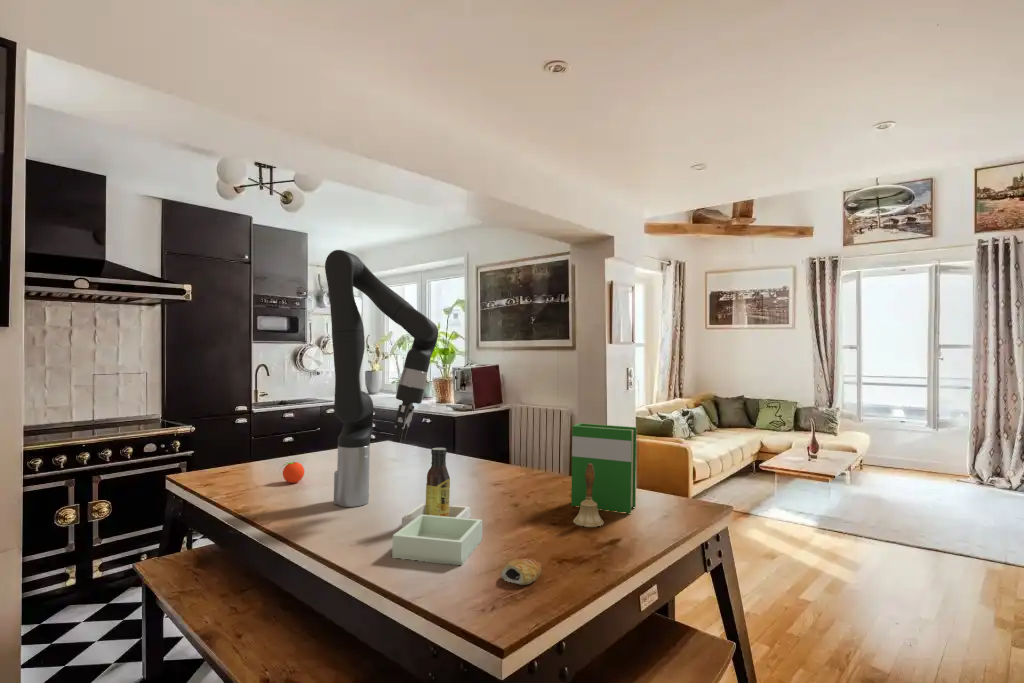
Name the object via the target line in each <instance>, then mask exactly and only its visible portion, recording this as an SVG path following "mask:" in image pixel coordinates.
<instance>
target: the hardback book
mask: <svg viewBox="0 0 1024 683" xmlns="http://www.w3.org/2000/svg"><path fill="white" fill-rule="evenodd" d="M571 430H572V433H571V434H572V438H571V441H572V442H571V443H572V444H571V446H572V447H571V495H570V496H571V500H570V502H571V503H570V504H571V507H572V506H579V507H580V505H581V502H582V501H584V500H586V491H587V485H586V481H585V472H586V469H587V466H588V464H589V463H591V464H593V468H594V472H595V478H594V483H593V487H592V500H593V501H594V502H596V503H597V508H598V509H602V510H609V511H617V512H626V513H631V514H632V509H633V508H632V507H635V508H636V498H637V497H636V495H637V494H636V488H637V486H636V484H637V427H636V426H623V425H611V424H609V425H608V424H598V423H597V424H595V423H582V422H581V423H580V422H578V423H577V424H575V425H572V429H571ZM579 507H578V508H579Z"/></svg>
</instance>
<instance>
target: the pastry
mask: <svg viewBox="0 0 1024 683" xmlns="http://www.w3.org/2000/svg"><path fill="white" fill-rule="evenodd" d="M542 569H543V565H542V563H541V562H540V561H538V560H535V559H534V558H531V557H530V558H514V559H512V560H511V561H508V562H507V563H506V564H505V565H504V567H503V569H502V571H501V572H500V578H502V580H503V579H504V580H503V581H504V582H506V581H507V583H510V582H511V584H516V585H518V584H519V586H523V585H524V586H525V585H530V584H532V583H533V582H536V580H537V579H538V578H539V577H540V575H541V574H542Z"/></svg>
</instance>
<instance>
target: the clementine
mask: <svg viewBox="0 0 1024 683" xmlns="http://www.w3.org/2000/svg"><path fill="white" fill-rule="evenodd" d="M284 466H285V467H284ZM282 467H283V470H282V476H283V479H284V480H285V482H287V483H291V484H295V483H298V482H300V481H301V480H302V479H303V478H304V475H305V468H304V466H303V465H302V463H300V462H295V461H293V462H287V463H285V464H283V465H282ZM282 467H280V468H279V470H281V469H282Z"/></svg>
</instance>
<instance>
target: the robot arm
mask: <svg viewBox="0 0 1024 683" xmlns="http://www.w3.org/2000/svg"><path fill="white" fill-rule="evenodd" d="M324 270H325V271H324V272H325V277H326V282H327V289H328V293H329V294H328V296H329V307H330V320H331V337H332V338H331V339H332V350H333V353H332V354H333V365H334V377H335V378H334V379H335V380H334V382H335V383H334V384H335V386H334V413H335V416H336V418H337V419H338V420H339V421H340V423H341V422H342V423H343V424H342V425H343V426H342V430H341V432H340V434H339V435H338V436H337V464H336V465H337V466H336V467H337V469H336V470H335V471H334V473H333V474H334V475H333V504H334V505H337V506H339V507H344V508H345V507H347V508H349V507H350V508H352V507H353V508H354V507H360V506H364V505H367V504H368V503H369V501H370V457H371V456H370V455H371V454H370V452H371V451H370V450H371V449H370V448H371V447H370V446H371V437H372V434H373V429H374V428H373V426H374V402H373V399H372V397H371V396H370V395H369V393H367V392H366V391H362V389H361V381H360V374H361V367H362V364H363V358H364V354H365V350H366V349H365V347H366V345H365V342H366V340H365V339H366V338H365V327H364V323H363V320H362V317H361V314H360V311H359V308H358V306H357V302H356V300H355V295H354V294H355V293H354V288H355V289H357V290H359V291H360V292H362V293H363V294H364V295H366V296H367V297H368V299H370V300H371V302H373V304H374V305H375V306H376V307H377V308H378V309H379V310H380V311H381V312H382V313H383V314H384V315H385V316H387V317H388V318H389V319H390V320H391V321H392V322H394V323H395V324H397V325H398V326H400V327H401V328H402V329H403V330H404V331H405V332H406V333H408V334H409V335H410V336H411V338H413V340H412V341H413V342H412V345H411V349H410V350H408V352H407V354H406V357H405V361H404V364H403V365H404V366H403V369H402V372H401V374H400V377H399V378H400V379H399V382H398V386H397V391H396V395H395V398H396V400H399V401H401V402H402V403H401V404H398V409H397V414H396V416H395V417H396V418H395V421H394V424H393V425H394V428H395V429H394V433H393V437H392V442H394V443H395V442H396V443H401V442H402V441H405V440H406V436H407V433H408V428H409V427H410V425H411V422H412V420H413V419H412V418H413V414H414V410H415V405H413V404H417V405H420V404H422V402H423V401H422V400H423V396H424V393H425V388H426V383H427V379H428V378H427V376H428V373H429V372H428V371H429V369H430V368H429V367H430V364H431V363H430V362H431V358H432V355H433V352H434V350H435V347H436V344H437V341H438V337H439V329H438V326H437V325H436V323H434V322H433V320H431V319H430V318H429V317H428V316H425V315H424V314H423V313H422V312H420V311H418V309H416V308H415V307H414V306H413V305H412V304H410V303H409V302H408V301H407V300H405V299H404V298H403V297H402V296H400V294H398V293H397V292H395V291H394V290H393V289H391V288H390V287H388V286H387V285H386V284H385V283H383V281H381V280H380V279H379V278H378V277H377V276H376V275H375V274H374V273H373V272H372V271H371V270H370V269H369V268H368V267H367V266H366V264H365V263H364V262H363V261H362V260H361V259H360V258H359V257H358V256H357V255H356V254H353V253H352V252H349V251H347V250H342V249H335V250H332V251H331V252H329V254H328V255H327V257H326V259H325V263H324Z"/></svg>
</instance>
